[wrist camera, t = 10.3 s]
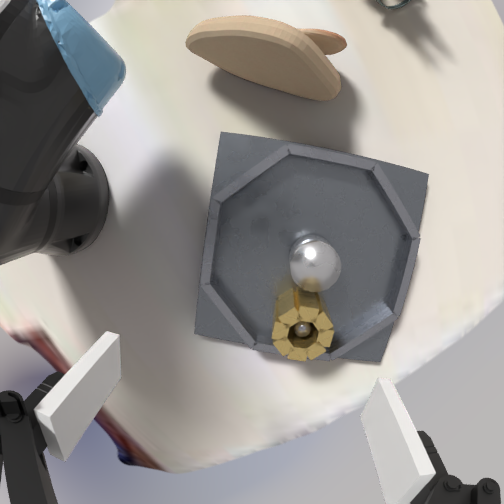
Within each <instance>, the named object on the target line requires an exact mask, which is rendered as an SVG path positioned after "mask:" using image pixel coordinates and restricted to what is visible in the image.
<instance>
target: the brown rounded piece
mask: <svg viewBox="0 0 504 504" xmlns="http://www.w3.org/2000/svg"><path fill="white" fill-rule="evenodd" d="M346 46H347V43H346V40H345V39H344V38H343V37H342V36H340V35H339V34H336V33H333V32H330V31H325V30H320V29H296V28H294V27H292V26H290V25H288V24H285V23H283V22H280V21H277V20H273V19H268V18H262V17H256V16H227V17H218V18H213V19H208V20H205V21H202V22H201V23H199V24H198V25H196V26H195V27H194V28H193V29H192V30H191V31H190V33H189V35H188V37H187V39H186V47H187V48H188V49H189V50H190V51H191V52H192V53H194V54H196V55H198V56H200V57H202V58H203V59H205V60H207V61H209V62H211V63H213V64H214V65H216V66H218V67H220V68H221V69H223V70H225V71H227V72H229V73H231V74H234V75H236V76H238V77H241V78H243V79H246V80H248V81H251V82H254V83H257V84H260V85H263V86H267V87H270V88H273V89H277V90H280V91H283V92H287V93H290V94H293V95H296V96H300V97H304V98H309V99H313V100H321V101H327V100H332V99H334V98H335V97H336V96H337V95H338V93H339V92H340V90H341V80H340V75H339V73H338V72H337V70H336V69H335V67H334V66H333V65H332V63H331V62H330V61H329V60H328V58H327V57H326V56H325V55H332V54H336V53H338V52H340V51H342V50H343V49H345V48H346Z"/></svg>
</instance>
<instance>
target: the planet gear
mask: <svg viewBox="0 0 504 504" xmlns="http://www.w3.org/2000/svg"><path fill="white" fill-rule="evenodd" d="M299 321H305V322H309V324H310V333H309V334H308V335H307V336H304V337H300V336H298V335H297V334H296V333H295V327H294V324H296V323H297V322H299ZM333 334H334V328H333V323H332V320H331V317H330V314H329V311H328V309H327V306H326V303H325V302H324V301H323V299H322V298H321V296H320V295H319V293H318V292H316V293H314V292H309V291H306V290H304V289H302V288H300V287H298V286H297V289H296V292H295V290H294V289H293V287H292V288H291V289H289V290H288V291H286V292H285V293H283V294H281V295H280V296H279V300H276V303H275V308H274V313H273V324H272V339H273V344H274V346H275V347H276V348H277V349H278V351H279V352H280V353H281V354H282V356H285V355H287V356H288V359H292V360H298V361H306V358H307V356H308V358H309V359H310V360H312V359H314V358H316V357H318V356H319V355H321V354H323V353H324V352H326V347H330V344H331V341H332V338H333Z"/></svg>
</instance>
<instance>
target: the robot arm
mask: <svg viewBox="0 0 504 504" xmlns="http://www.w3.org/2000/svg"><path fill="white" fill-rule="evenodd" d="M125 75H126V66H125V63H124V61H123V59H122V58H121V57H120V56H119V55H118V53H117V52H116V51H115V50H114V49H113V48H112V47H111V46H110V45H109V44H108V43H107V42H106V41H105V40H104V39H103V38H102V37H101V36H100V34H99V33H98V32H97V31H96V30H95V29H94V28H93V27H92V26H91V25H90V24H89V23H88V22H87V21H86V20H85V19H84V18H83V17H82V16H81V15H80V14H79V13H78V12H77V11H76V10H75V9H74V8H73V7H72V6H71V5H70V4H69V3H68V2H66V1H65V0H0V265H2V264H5V263H8V262H10V261H13V260H16V259H18V258H21V257H24V256H26V255H29V254H32V253H42V254H49V255H56V256H64V255H70V254H73V253H75V252H78V251H80V250H83V249H84V248H86V247H88V246H89V245H90V244H91V243H92V242H93V241H94V240H95V239H96V237H97V236H98V235H99V233H100V231H101V229H102V227H103V225H104V222H105V219H106V216H107V211H108V202H109V193H108V184H107V180H106V176H105V173H104V170H103V168H102V166H101V164H100V162H99V161H98V159H97V158H96V157H95V155H94V154H93V153H92V152H91V151H89V150H88V149H87V148H85V147H83V146H81V145H78V144H77V143H78V141H79V140H80V139H81V137H82V136H83V135H84V133H85V132H86V131H87V129H88V128H89V127H90V125H91V124H92V123H93V122H94V120H95V119H96V118H97V117H100V116H101V114H102V112H103V108H104V106H105V105H106V104H107V102H108V101H109V100H110V99H111V97H112V96H113V95H114V93H115V92H116V91H117V90H118V88H119V87H120V86H121V84H122V83H123V81H124V79H125ZM121 378H122V374H121V356H120V335H119V334H115V333H112V332H108V331H106V332H105V333H104V334H103V335H102V336H101V337H100V338H99V339H98V340H97V341H96V342H95V344H94V345H93V346H92V347H91V348H90V349H89V350H88V351H87V352H86V353H85V354H84V355H83V356H82V357H81V358H80V359H79V360H78V361H77V362H76V364H75V365H74V366H73V367H72V368H71V369H70V370H69V371H68V372H67V373H66V374H63V373H60V372H55V373H54V374H51V375H49V376H48V377H47V378H46V379H45V380H44V381H43V382H42V384H40V385H39V386H38V387H37V389H35V390H34V391H33V392H32V393H31V394H30V396H28V398H27V399H26V400H25V401H23V398H22V396H21V395H20V394H19V393H17V392H15V391H3V392H1V393H0V482H1V473H2V465H3V462H4V468H5V475H6V482H7V487H8V493H9V498H10V502H11V504H58V503H57V499H56V496H55V493H54V490H53V487H52V483H51V479H50V476H49V472H48V468H47V465H46V461H45V456H44V454H43V451H44V450H45V448H46V447H48V450H49V453H50V454H51V455H52V456H54V457H56V458H58V459H61V460H63V461H65V462H66V460H67V458H68V457H69V455H70V454H71V452H72V451H73V449H74V448H75V446H76V444H77V443H78V441H79V440H80V438H81V437H82V435H83V434H84V432H85V431H86V429H87V428H88V426H89V425H90V423H91V422H92V420H93V419H94V417H95V416H96V414H97V413H98V411H99V410H100V408H101V407H102V405H103V404H104V402H105V401H106V399H107V398H108V397H109V395H110V394H111V392H112V391H113V389H114V388H115V386H116V385H117V383H118V382H119V380H120V379H121ZM360 418H361V421H362V424H363V428H364V431H365V434H366V437H367V440H368V444H369V447H370V451H371V454H372V457H373V461H374V464H375V468H376V471H377V475H378V478H379V482H380V485H381V489H382V493H383V496H384V500H385V504H501V498H500V487H499V485H498V483H497V482H496V481H495V480H493V479H491V478H483V479H481V480H480V481H479V482H478V483H477V485H465V484H462V482H461V481H460V479H458V478H457V477H455V476H453V475H448V473H447V471H446V468H445V466H444V464H443V462H442V460H441V458H440V456H439V454H438V453H437V450H436V448H435V447H434V444H433V442H432V440H431V438H430V437H429V436H428V435H427V434H426V433H425V432H424V431H416V429H415V427H414V425H413V422H412V420H411V418H410V416H409V414H408V412H407V410H406V408H405V406H404V404H403V402H402V400H401V398H400V396H399V394H398V392H397V390H396V388H395V386H394V384H393V382H392V380H391V379H387V378H378V379H377V381H376V383H375V386H374V388H373V390H372V392H371V395H370V397H369V399H368V401H367V403H366V406H365V408H364V410H363V412H362V414H361V416H360Z"/></svg>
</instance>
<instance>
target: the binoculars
mask: <svg viewBox="0 0 504 504" xmlns="http://www.w3.org/2000/svg"><path fill="white" fill-rule="evenodd" d="M376 1H377V2H378V3H379V4H380V5H382V6H384V7H386V8H388V9H396V8H400V7H402V6H404V5H406V4H407V3H408V2H410V1H411V0H404V1H403V2H401V3H399V4H397V5H394V6H385V5H384V4H383V3H382V2H381V1H380V0H376Z"/></svg>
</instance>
